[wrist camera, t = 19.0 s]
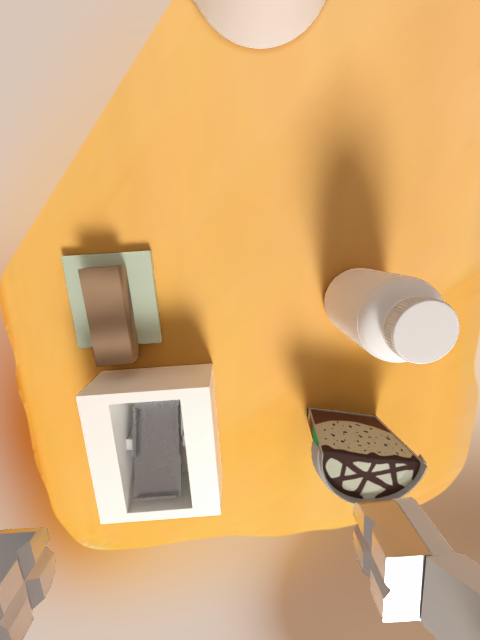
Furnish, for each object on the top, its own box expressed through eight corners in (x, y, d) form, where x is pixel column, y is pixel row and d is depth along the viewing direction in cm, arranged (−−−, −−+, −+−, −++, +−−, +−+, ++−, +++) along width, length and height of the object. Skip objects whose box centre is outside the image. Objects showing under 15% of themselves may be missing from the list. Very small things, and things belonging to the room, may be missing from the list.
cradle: (138, 391, 40) (132, 391, 38) (180, 388, 40) (177, 388, 38) (137, 495, 37) (131, 501, 35) (183, 492, 37) (179, 497, 35)
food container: (288, 446, 43) (305, 504, 34) (297, 405, 42) (317, 453, 32) (375, 456, 44) (416, 516, 34) (386, 417, 43) (432, 467, 33)
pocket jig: (102, 370, 40) (75, 396, 33) (212, 363, 40) (209, 386, 33) (120, 480, 44) (100, 524, 37) (222, 473, 44) (220, 514, 37)
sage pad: (64, 255, 37) (61, 256, 36) (151, 250, 37) (149, 250, 36) (81, 346, 39) (78, 348, 38) (162, 340, 39) (160, 342, 39)
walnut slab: (89, 267, 36) (77, 269, 34) (125, 264, 36) (117, 266, 34) (105, 358, 39) (96, 366, 36) (140, 355, 39) (133, 363, 36)
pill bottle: (309, 312, 39) (357, 352, 25) (345, 255, 38) (418, 260, 23) (362, 342, 40) (438, 396, 26) (399, 287, 39) (501, 311, 24)
